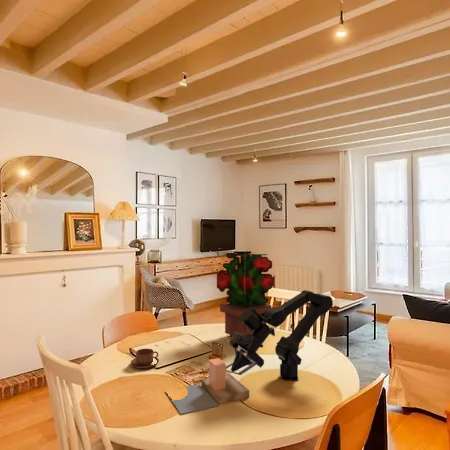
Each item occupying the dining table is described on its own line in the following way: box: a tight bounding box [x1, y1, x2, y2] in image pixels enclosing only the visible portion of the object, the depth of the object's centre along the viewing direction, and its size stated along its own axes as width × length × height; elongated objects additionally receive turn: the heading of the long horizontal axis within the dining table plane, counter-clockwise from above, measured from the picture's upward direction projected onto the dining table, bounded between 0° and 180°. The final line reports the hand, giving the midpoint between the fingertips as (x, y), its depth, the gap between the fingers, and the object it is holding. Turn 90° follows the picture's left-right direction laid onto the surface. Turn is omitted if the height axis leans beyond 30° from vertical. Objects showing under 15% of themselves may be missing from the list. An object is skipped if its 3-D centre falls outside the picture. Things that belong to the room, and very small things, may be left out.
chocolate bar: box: [226, 360, 257, 375], centre depth 164 cm, size 9×1×18 cm
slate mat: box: [171, 383, 220, 415], centre depth 133 cm, size 14×18×1 cm
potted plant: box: [216, 253, 276, 338], centre depth 202 cm, size 22×22×45 cm
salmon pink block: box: [208, 357, 227, 391], centre depth 137 cm, size 4×6×9 cm, turn 25°
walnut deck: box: [200, 373, 250, 405], centre depth 139 cm, size 12×16×2 cm
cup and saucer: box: [130, 348, 159, 369], centre depth 164 cm, size 12×12×6 cm
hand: (231, 370), depth 140 cm, fingers closed
